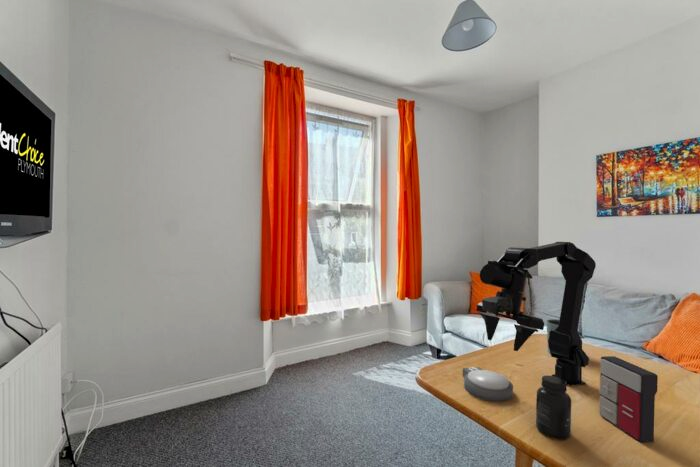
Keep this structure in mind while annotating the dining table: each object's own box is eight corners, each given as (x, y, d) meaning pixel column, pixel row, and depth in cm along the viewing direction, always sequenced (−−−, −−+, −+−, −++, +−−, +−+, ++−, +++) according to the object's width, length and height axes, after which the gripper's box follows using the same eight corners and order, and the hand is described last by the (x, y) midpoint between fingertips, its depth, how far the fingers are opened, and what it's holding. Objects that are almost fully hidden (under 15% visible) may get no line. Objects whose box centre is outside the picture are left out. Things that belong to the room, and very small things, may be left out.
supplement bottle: (576, 443, 70) (577, 388, 70) (542, 438, 72) (543, 384, 72) (562, 424, 77) (563, 374, 77) (531, 420, 79) (532, 371, 78)
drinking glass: (539, 349, 128) (540, 319, 128) (560, 348, 130) (561, 318, 130) (562, 359, 118) (562, 327, 118) (584, 357, 120) (584, 325, 120)
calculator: (596, 414, 82) (597, 355, 82) (612, 414, 82) (613, 355, 82) (638, 443, 71) (640, 375, 71) (656, 442, 71) (658, 374, 71)
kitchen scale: (489, 374, 104) (489, 363, 104) (523, 400, 88) (523, 387, 88) (451, 376, 102) (451, 365, 102) (479, 403, 86) (479, 390, 86)
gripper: (467, 280, 98) (457, 331, 97) (519, 291, 81) (507, 353, 79) (495, 287, 102) (485, 336, 101) (550, 299, 84) (539, 358, 83)
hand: (501, 345), depth 91 cm, fingers open, 9 cm apart
